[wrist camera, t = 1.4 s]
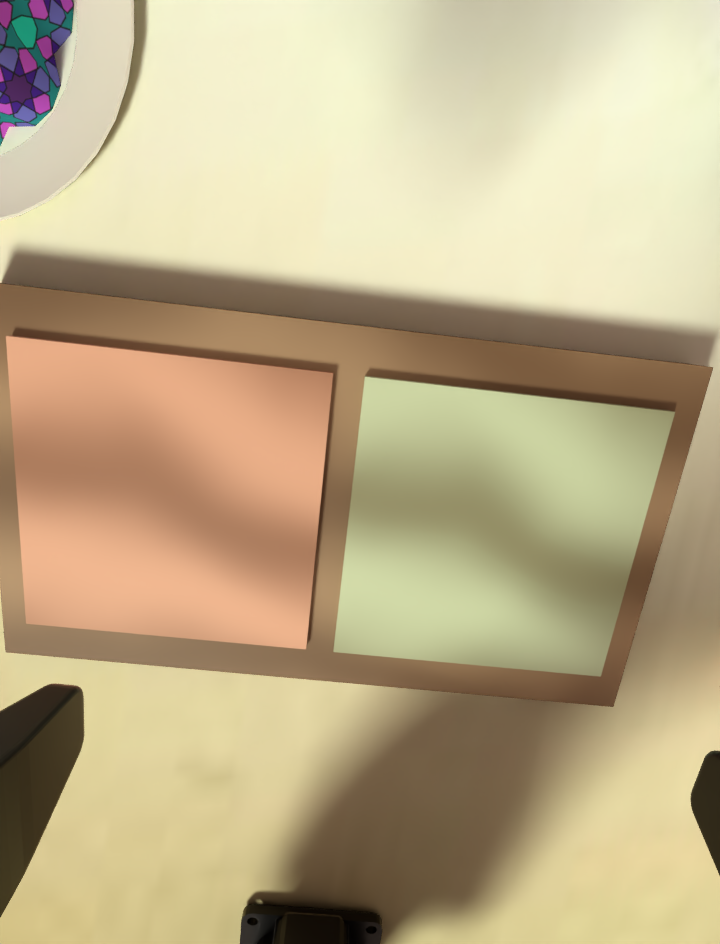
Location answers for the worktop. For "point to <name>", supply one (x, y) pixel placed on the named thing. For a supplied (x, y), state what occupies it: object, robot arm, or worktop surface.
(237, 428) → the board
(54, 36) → the pudding
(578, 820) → the worktop surface
